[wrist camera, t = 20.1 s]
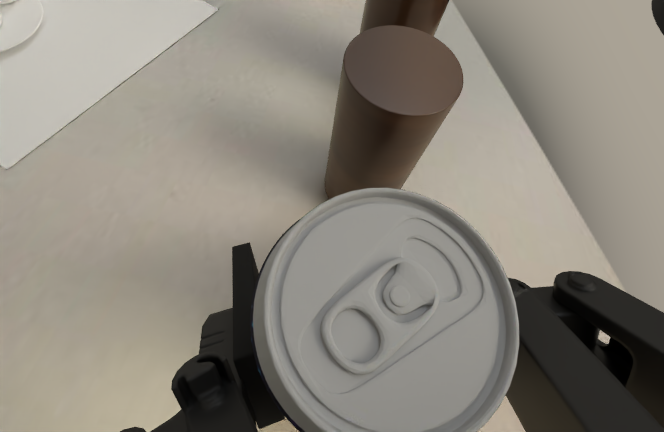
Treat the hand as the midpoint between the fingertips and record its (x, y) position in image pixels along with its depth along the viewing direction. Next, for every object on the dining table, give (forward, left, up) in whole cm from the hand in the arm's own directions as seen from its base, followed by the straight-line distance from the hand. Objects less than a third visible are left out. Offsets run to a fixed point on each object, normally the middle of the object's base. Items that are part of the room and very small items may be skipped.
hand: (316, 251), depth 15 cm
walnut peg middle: (-2, -7, -5) cm, 8 cm away
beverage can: (-2, +3, -4) cm, 5 cm away
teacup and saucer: (+26, -15, -5) cm, 30 cm away
